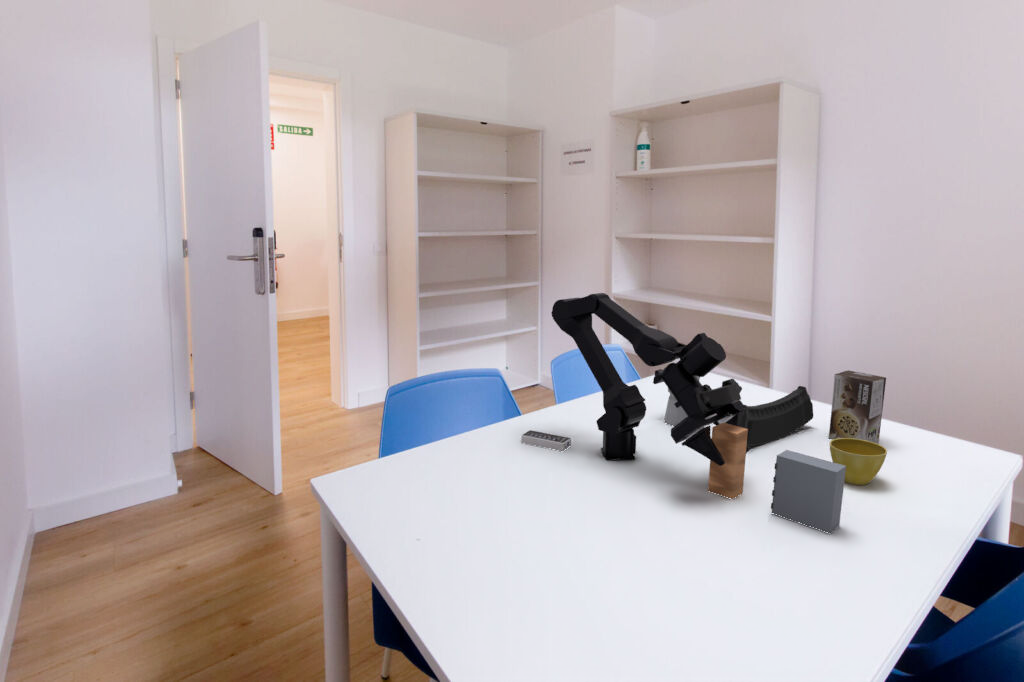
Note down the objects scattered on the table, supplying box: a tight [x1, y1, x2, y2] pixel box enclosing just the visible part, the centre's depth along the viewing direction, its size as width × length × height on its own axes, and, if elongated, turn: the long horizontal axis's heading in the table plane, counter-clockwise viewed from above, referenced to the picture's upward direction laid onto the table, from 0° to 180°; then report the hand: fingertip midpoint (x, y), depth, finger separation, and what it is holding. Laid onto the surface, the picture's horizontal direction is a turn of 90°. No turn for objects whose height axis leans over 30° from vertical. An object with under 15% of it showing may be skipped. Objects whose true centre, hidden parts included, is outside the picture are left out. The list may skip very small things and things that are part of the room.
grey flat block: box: [770, 449, 846, 534], centre depth 108 cm, size 10×4×11 cm, turn 43°
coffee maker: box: [663, 376, 701, 427], centre depth 159 cm, size 15×9×18 cm, turn 172°
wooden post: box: [707, 423, 748, 500], centre depth 119 cm, size 5×4×13 cm
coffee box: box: [828, 370, 887, 445], centre depth 147 cm, size 9×6×16 cm
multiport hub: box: [521, 430, 572, 452], centre depth 145 cm, size 4×11×2 cm, turn 60°
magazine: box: [741, 385, 814, 447], centre depth 149 cm, size 17×3×30 cm
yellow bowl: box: [829, 438, 888, 486], centre depth 126 cm, size 10×10×7 cm
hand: (735, 458), depth 118 cm, fingers open, 9 cm apart
